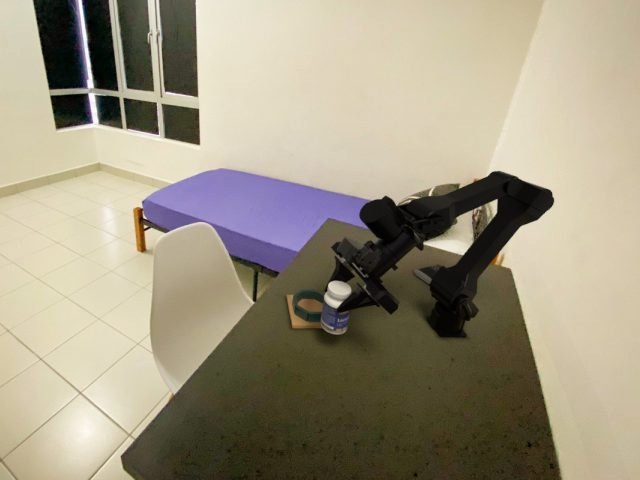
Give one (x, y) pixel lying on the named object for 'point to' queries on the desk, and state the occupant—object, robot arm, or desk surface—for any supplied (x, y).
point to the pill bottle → (332, 300)
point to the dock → (305, 308)
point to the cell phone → (427, 272)
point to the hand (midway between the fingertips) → (331, 301)
